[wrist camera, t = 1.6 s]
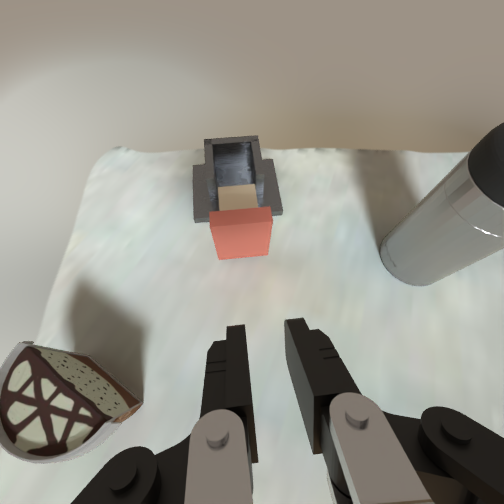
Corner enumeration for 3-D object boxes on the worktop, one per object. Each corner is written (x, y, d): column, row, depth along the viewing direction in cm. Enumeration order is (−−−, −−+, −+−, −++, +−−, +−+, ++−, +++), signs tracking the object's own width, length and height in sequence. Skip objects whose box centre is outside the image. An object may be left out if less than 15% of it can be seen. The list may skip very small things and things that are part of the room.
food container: (39, 394, 30) (-51, 403, 21) (80, 348, 32) (15, 338, 23) (113, 467, 27) (45, 513, 18) (153, 411, 30) (110, 427, 20)
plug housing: (272, 164, 46) (275, 134, 40) (282, 215, 41) (287, 189, 36) (194, 170, 45) (185, 140, 39) (195, 222, 41) (186, 197, 35)
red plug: (259, 203, 40) (262, 161, 32) (267, 254, 37) (272, 221, 28) (215, 207, 40) (206, 165, 32) (218, 259, 36) (210, 226, 28)
